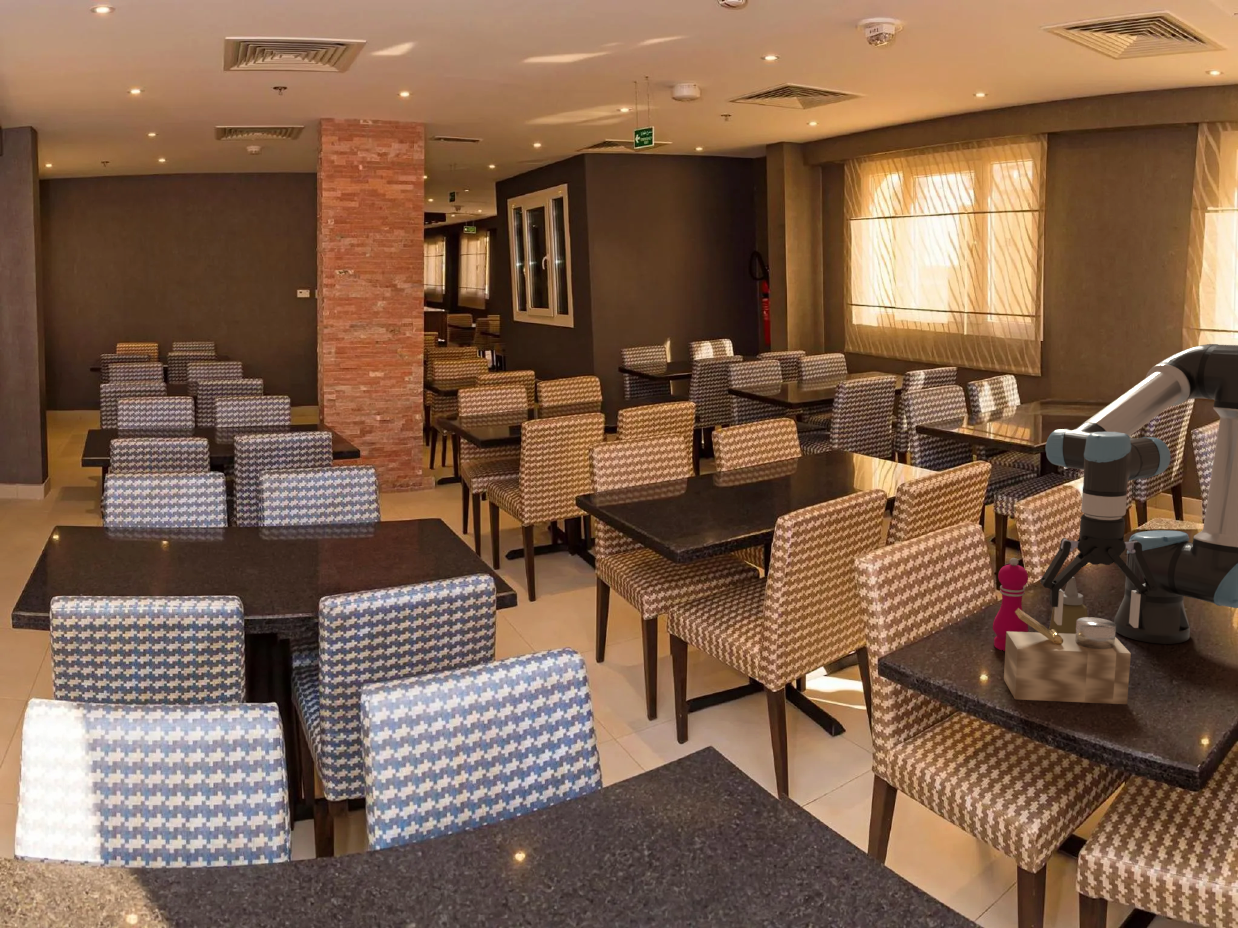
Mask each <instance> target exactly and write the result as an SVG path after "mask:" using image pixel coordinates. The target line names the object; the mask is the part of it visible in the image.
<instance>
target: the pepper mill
mask: <svg viewBox="0 0 1238 928" xmlns="http://www.w3.org/2000/svg"><path fill="white" fill-rule="evenodd" d="M997 577H998V578H997V579H998V581H999V583H1000V584H1001V585H1000V586H999V589H1000V590H999V593H1000V594H1001V604H1000V608H999V610H998V611H997V613H996V616H995V617H994V618H993V619H994V620H993V623H992V630H993V632H994V634H995V635H996V636H994V639H993V640H994V641H993V644H994V645H993V646H994V648H996V649H998V651H1002V650H1003V652H1005V647H1006V631H1009V632H1029V625H1028V624H1027V623H1025V622H1024V621H1022V620H1021V619H1020V618H1019V617H1018V616H1017V614H1016V613H1015V611H1016V610H1017V609H1018V608H1019V609H1020V610H1022V611H1023V603H1022V600H1023V596H1024V595H1025V594H1026V592H1025V591H1026V587H1025V585H1027V584H1028V582H1029V574H1028V571H1027V570H1026V568H1025V567H1024V566H1022V565H1019V559H1018V558H1015V557H1012V558H1010V559H1009V564H1005V565H1004V566H1002V567H1001V568H1000V569H999V571H998V575H997ZM1023 612H1024V611H1023Z"/></svg>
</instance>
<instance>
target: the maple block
mask: <svg viewBox="0 0 1238 928" xmlns="http://www.w3.org/2000/svg"><path fill="white" fill-rule="evenodd" d="M1058 634H1059V635H1060V636H1061V637H1062V639H1063V643H1062V644H1061V645H1056V644H1055V643H1054V642H1052V641H1051V640H1049V639H1048V638H1047V637H1045V636H1044V635H1042V634H1041V633H1039V632H1038V631H1035V632H1033V631H1031V632H1030V631H1028V632H1009V631H1006V647H1005V651H1004V670H1003V672H1004V673H1003V681H1004V682H1005V684H1006V686H1007V687H1008V689H1009V691H1010V694H1011V695H1012V696H1013V698H1014V700H1021V701H1022V700H1023V701H1024V700H1025V701H1026V700H1027V701H1048V702H1064V703H1065V702H1068V703H1069V702H1070V703H1071V702H1072V703H1086V704H1087V703H1092V704H1108V705H1111V704H1113V705H1127V704H1128V699H1129V698H1128V696H1129V695H1128V694H1129V685H1130V684H1129V681H1130V668H1131V655H1132V654H1131V652H1130V651H1129V650H1128V648H1126V646H1125V645H1124V644H1123V643H1122V642H1121V641H1120V640H1119V639H1118V638H1117V637H1116V636H1115V645H1114V647H1113V648H1111V649H1092V648H1087V647H1084V646H1081V645H1079V644H1077V643H1076V642H1075V637H1076V634H1065V633H1058Z"/></svg>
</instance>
